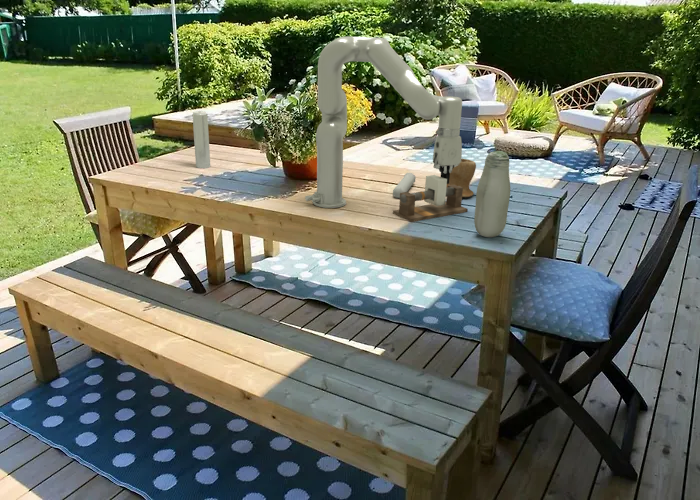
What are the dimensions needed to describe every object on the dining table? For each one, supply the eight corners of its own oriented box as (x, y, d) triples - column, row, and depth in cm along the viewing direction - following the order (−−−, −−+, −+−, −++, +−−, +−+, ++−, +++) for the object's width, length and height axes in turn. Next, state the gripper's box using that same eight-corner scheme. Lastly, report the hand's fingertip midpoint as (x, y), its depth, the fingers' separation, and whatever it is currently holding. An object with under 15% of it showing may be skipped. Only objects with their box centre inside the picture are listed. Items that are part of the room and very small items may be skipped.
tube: (406, 190, 237) (417, 175, 259) (393, 185, 237) (406, 170, 260) (401, 202, 239) (413, 186, 261) (389, 197, 239) (401, 181, 262)
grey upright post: (208, 168, 278) (205, 112, 269) (194, 168, 278) (190, 112, 269) (211, 165, 284) (208, 110, 275) (197, 164, 284) (194, 110, 275)
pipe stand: (411, 222, 212) (412, 198, 209) (392, 213, 221) (393, 190, 218) (467, 211, 225) (469, 189, 222) (447, 204, 234) (449, 182, 231)
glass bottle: (494, 243, 194) (505, 156, 184) (467, 235, 200) (475, 151, 190) (509, 236, 201) (520, 151, 191) (482, 228, 207) (491, 147, 197)
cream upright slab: (436, 206, 219) (438, 180, 215) (424, 201, 224) (425, 176, 221) (444, 204, 221) (447, 179, 217) (432, 199, 226) (434, 174, 223)
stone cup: (478, 194, 248) (482, 158, 242) (466, 201, 239) (469, 163, 233) (444, 188, 256) (447, 153, 250) (431, 194, 247) (434, 157, 241)
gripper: (439, 136, 209) (435, 188, 215) (471, 132, 216) (466, 183, 223) (425, 132, 215) (421, 183, 221) (457, 129, 222) (453, 178, 229)
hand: (444, 183), depth 222 cm, fingers closed
